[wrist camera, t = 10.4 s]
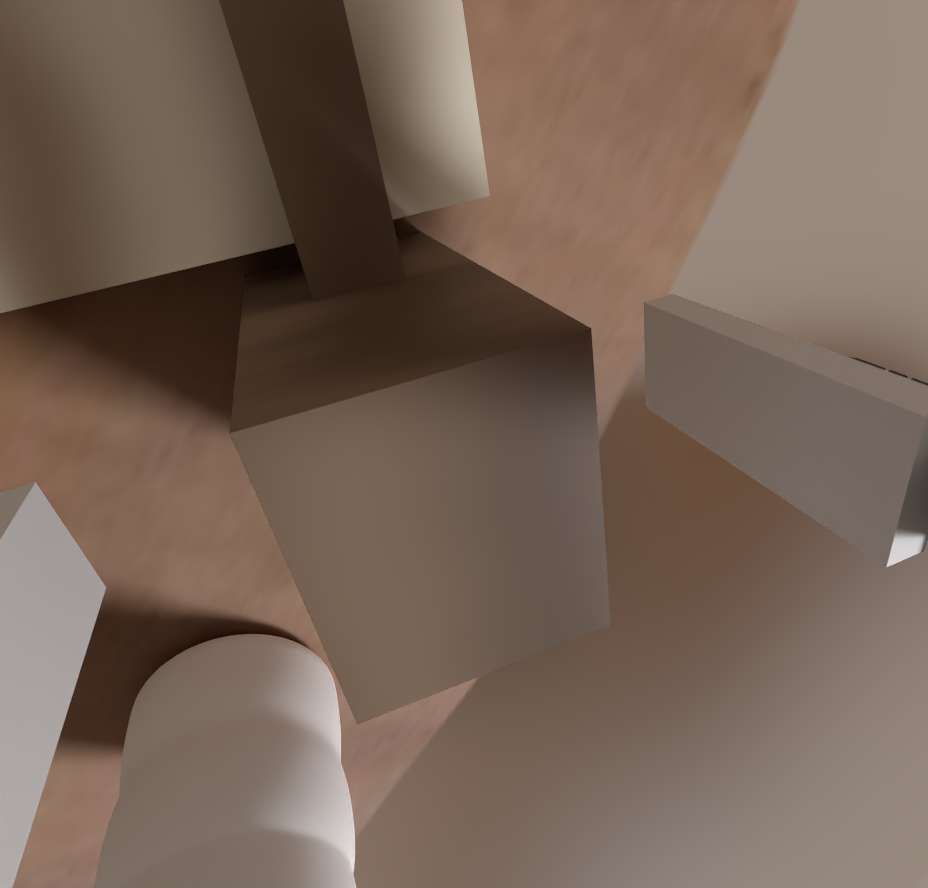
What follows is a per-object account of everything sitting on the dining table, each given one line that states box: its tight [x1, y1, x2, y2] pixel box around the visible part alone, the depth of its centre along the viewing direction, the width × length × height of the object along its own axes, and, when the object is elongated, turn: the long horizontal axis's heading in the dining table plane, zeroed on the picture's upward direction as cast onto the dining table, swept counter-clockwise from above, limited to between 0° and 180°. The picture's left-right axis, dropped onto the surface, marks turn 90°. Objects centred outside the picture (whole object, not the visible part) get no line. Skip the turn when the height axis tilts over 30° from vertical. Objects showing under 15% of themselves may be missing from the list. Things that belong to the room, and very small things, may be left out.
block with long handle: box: [219, 0, 611, 724], centre depth 11 cm, size 5×14×10 cm, turn 10°
